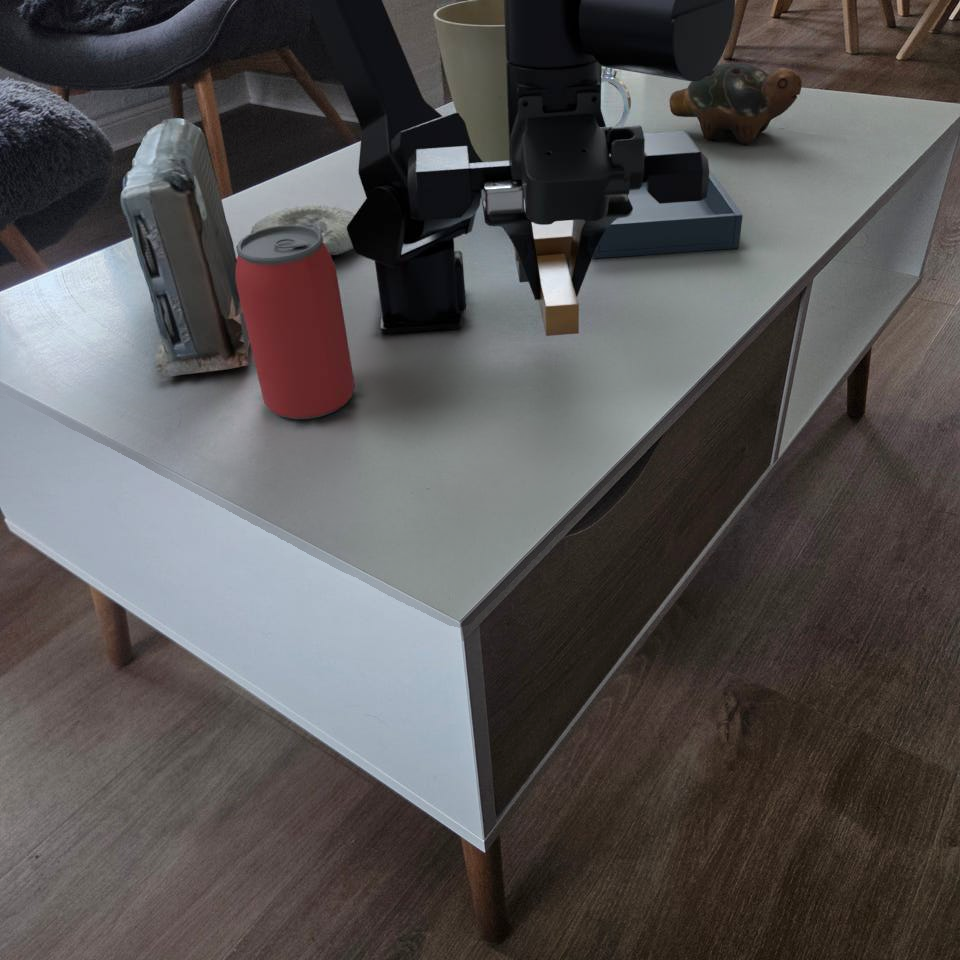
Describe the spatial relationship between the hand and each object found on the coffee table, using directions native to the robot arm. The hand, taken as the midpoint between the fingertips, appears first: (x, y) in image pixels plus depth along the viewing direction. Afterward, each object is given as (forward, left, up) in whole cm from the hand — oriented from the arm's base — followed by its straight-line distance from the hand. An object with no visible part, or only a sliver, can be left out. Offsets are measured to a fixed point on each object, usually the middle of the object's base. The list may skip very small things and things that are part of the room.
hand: (555, 296), depth 65 cm
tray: (+12, +28, -6) cm, 31 cm away
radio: (-28, +13, -6) cm, 32 cm away
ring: (+11, +52, -6) cm, 54 cm away
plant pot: (0, +45, -6) cm, 46 cm away
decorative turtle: (+26, +50, -6) cm, 57 cm away
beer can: (-18, -2, -6) cm, 19 cm away
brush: (0, +2, -1) cm, 3 cm away
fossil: (-21, +25, -6) cm, 34 cm away
